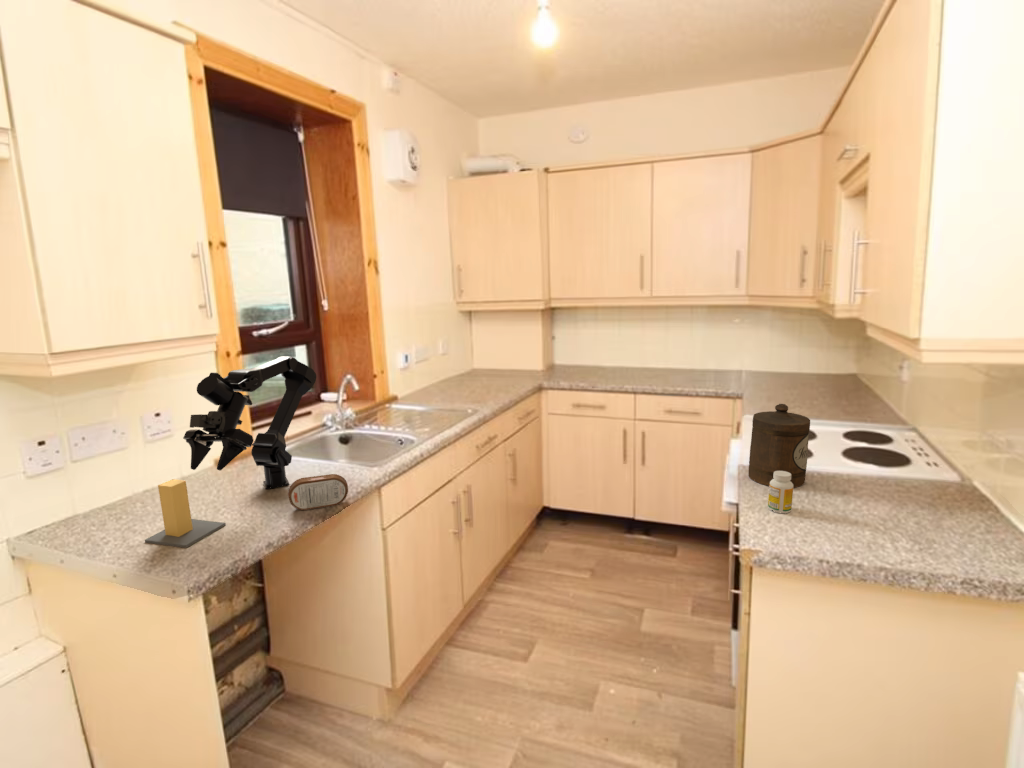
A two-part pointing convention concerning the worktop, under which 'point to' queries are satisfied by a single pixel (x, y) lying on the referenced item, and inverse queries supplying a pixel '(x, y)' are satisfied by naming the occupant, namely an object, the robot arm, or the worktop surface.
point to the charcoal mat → (187, 534)
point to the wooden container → (779, 445)
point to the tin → (318, 491)
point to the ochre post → (175, 507)
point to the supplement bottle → (780, 492)
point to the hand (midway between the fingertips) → (205, 469)
